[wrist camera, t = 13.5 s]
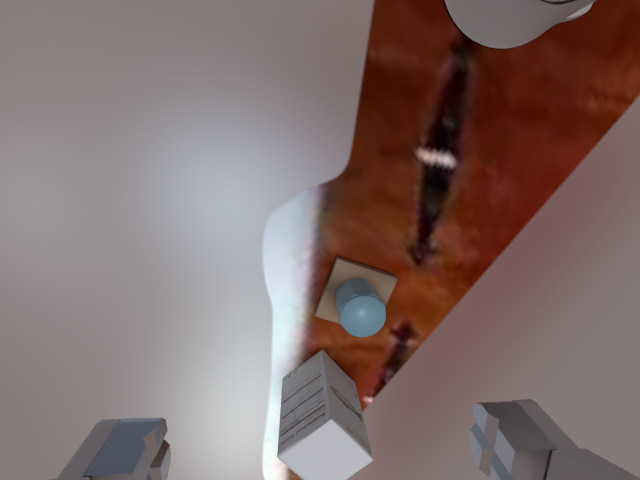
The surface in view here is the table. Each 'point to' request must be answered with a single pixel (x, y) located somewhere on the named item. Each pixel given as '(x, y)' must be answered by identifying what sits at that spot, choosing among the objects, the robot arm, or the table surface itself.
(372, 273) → the post base
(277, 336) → the table surface
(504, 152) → the table surface
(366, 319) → the teal cap
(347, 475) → the supplement box
